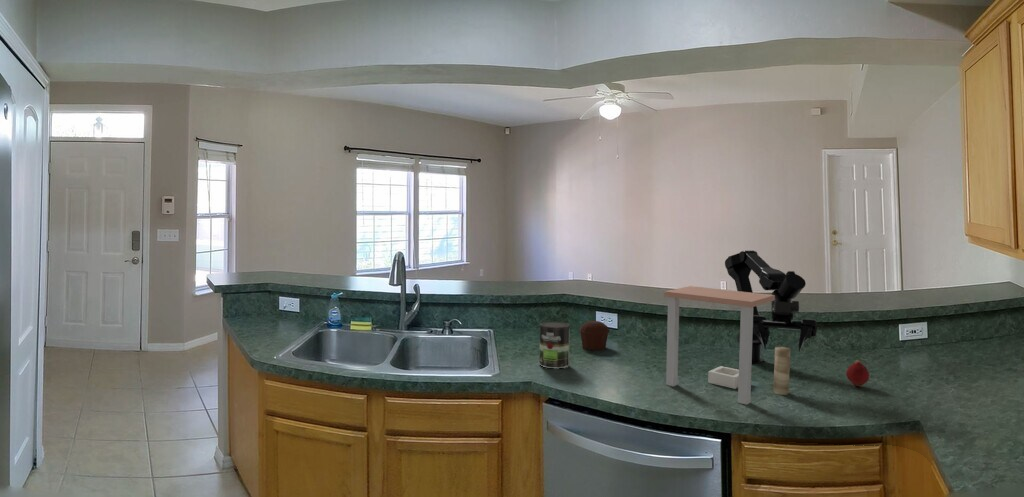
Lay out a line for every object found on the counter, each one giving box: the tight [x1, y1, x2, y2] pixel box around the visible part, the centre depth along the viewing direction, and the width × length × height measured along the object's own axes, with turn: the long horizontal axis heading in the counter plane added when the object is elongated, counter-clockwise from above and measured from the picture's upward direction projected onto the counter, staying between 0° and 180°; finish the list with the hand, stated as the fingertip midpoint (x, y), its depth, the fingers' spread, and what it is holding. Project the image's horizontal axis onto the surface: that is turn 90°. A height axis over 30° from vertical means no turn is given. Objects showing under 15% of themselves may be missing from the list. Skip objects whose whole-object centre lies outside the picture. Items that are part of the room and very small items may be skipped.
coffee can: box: [539, 321, 571, 369], centre depth 192 cm, size 10×10×14 cm
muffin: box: [578, 320, 611, 352], centre depth 216 cm, size 12×11×10 cm
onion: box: [846, 359, 870, 387], centre depth 170 cm, size 6×6×8 cm
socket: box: [707, 365, 739, 390], centre depth 174 cm, size 8×8×4 cm
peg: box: [773, 346, 791, 396], centre depth 164 cm, size 4×4×13 cm
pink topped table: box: [663, 285, 775, 405], centre depth 167 cm, size 16×26×28 cm, turn 45°
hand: (781, 349), depth 168 cm, fingers open, 9 cm apart
